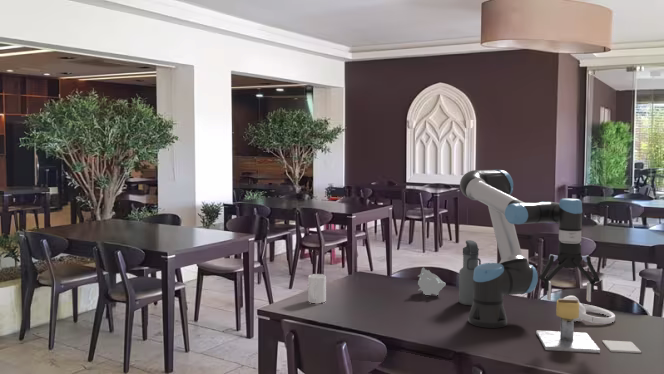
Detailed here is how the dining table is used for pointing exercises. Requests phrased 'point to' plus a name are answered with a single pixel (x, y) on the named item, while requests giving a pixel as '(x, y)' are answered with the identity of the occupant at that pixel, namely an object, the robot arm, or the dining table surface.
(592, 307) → the headphones
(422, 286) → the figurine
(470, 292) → the water bottle
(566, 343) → the post fixture
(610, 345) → the mat
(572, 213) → the robot arm
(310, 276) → the pale gray rounded block
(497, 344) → the dining table surface
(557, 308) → the cap
